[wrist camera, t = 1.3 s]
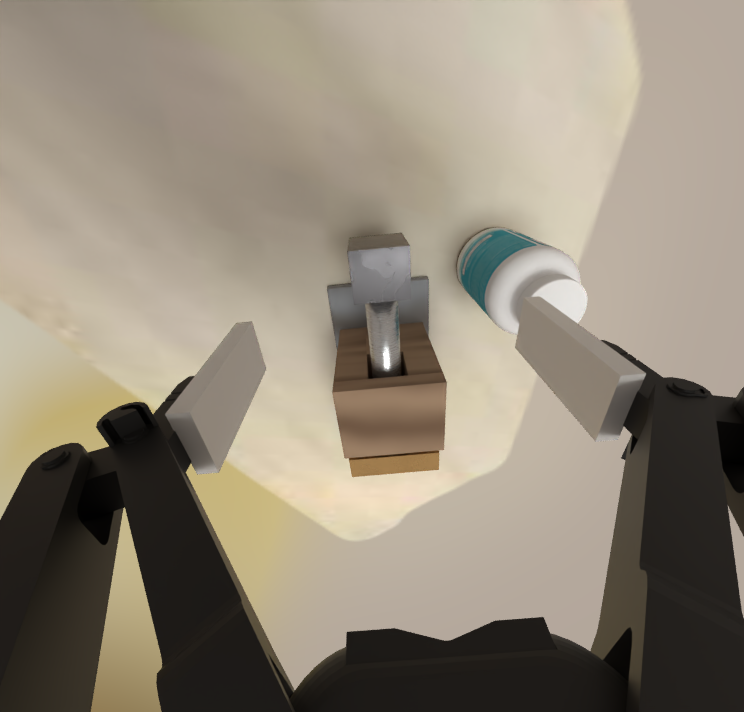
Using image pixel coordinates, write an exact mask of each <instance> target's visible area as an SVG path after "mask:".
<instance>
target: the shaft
mask: <svg viewBox="0 0 744 712" xmlns="http://www.w3.org/2000/svg"><path fill="white" fill-rule="evenodd" d="M347 252H348V260H349V268H350V277H351V285H352V293H353V301H354V305H358V304H365V308H366V318H367V327H368V337H369V347H370V356H371V366H372V376H373V379H374V378H385V377H396V376H401V354H400V333H399V311H398V301H401V300H411V272H410V245H409V243H408V242H407V240H406V239H405V237H404V235H403V234H402V233H394V234H384V235H374V236H363V237H353V238H349V244H348V251H347Z"/></svg>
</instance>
